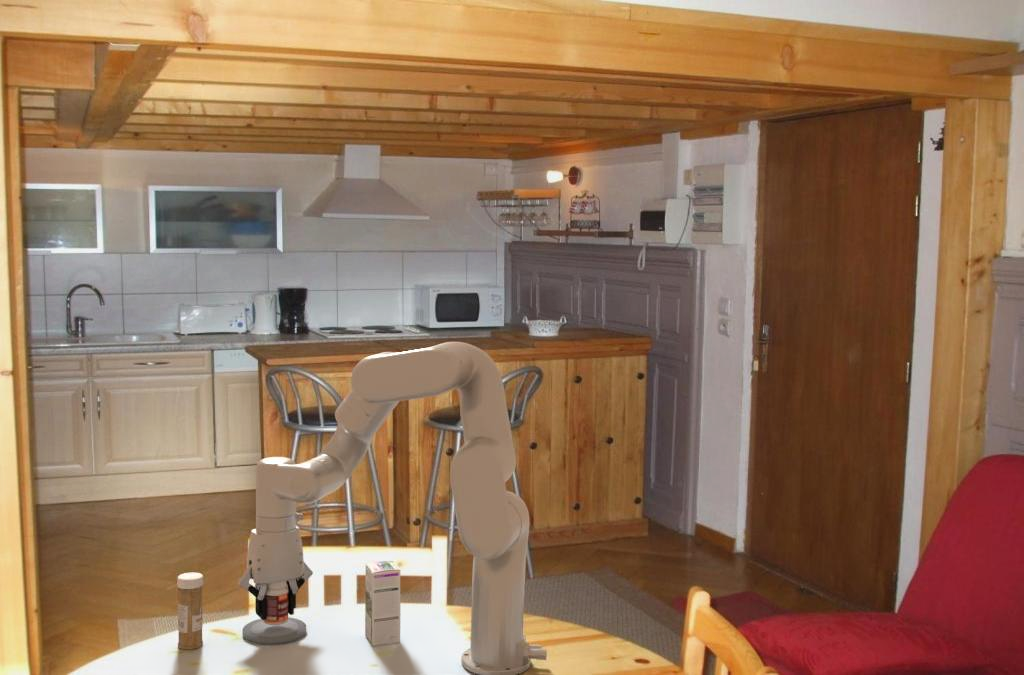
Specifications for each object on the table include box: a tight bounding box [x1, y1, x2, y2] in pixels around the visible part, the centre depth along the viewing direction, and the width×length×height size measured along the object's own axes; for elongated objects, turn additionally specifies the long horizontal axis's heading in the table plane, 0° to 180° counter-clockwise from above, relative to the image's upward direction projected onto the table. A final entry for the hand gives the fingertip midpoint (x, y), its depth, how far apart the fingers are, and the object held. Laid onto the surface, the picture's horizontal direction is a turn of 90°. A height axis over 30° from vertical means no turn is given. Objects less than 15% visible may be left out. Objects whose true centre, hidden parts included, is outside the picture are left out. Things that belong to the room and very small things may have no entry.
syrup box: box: [364, 560, 401, 647], centre depth 197 cm, size 6×6×14 cm
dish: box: [242, 616, 307, 646], centre depth 199 cm, size 12×12×1 cm
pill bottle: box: [263, 581, 289, 625], centre depth 198 cm, size 5×5×8 cm
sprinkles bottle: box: [176, 571, 204, 651], centre depth 191 cm, size 5×5×14 cm
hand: (275, 614), depth 199 cm, fingers closed on pill bottle, 4 cm apart
